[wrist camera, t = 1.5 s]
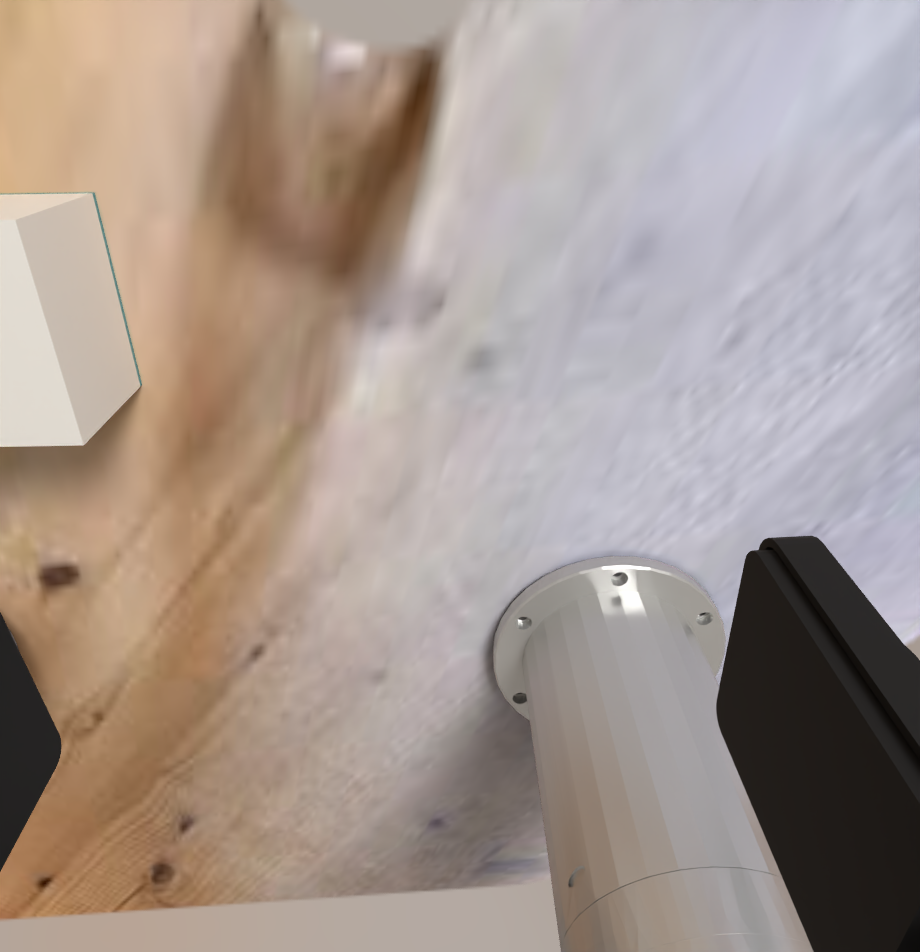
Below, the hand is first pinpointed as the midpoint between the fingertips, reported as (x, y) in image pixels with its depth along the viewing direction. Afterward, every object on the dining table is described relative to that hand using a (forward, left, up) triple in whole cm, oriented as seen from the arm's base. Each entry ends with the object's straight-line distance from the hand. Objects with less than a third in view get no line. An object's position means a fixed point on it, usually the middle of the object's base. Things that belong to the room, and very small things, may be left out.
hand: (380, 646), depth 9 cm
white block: (-2, +16, -23) cm, 28 cm away
